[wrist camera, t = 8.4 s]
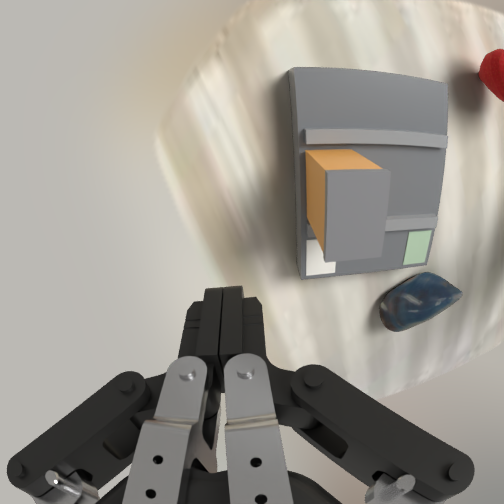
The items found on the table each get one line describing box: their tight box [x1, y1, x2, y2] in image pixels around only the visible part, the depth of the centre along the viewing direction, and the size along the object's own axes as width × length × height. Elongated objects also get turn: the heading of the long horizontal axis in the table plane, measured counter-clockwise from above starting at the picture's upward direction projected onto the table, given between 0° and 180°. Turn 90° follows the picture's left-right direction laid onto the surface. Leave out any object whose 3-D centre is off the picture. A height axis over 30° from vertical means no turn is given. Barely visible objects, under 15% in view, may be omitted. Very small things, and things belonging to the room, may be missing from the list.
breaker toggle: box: [305, 149, 391, 263], centre depth 21 cm, size 4×6×7 cm
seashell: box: [380, 272, 463, 332], centre depth 33 cm, size 6×9×10 cm
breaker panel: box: [288, 67, 448, 280], centre depth 25 cm, size 15×20×4 cm
